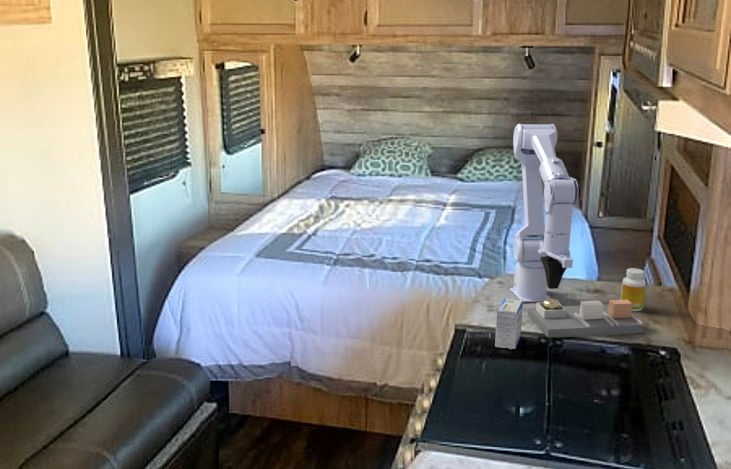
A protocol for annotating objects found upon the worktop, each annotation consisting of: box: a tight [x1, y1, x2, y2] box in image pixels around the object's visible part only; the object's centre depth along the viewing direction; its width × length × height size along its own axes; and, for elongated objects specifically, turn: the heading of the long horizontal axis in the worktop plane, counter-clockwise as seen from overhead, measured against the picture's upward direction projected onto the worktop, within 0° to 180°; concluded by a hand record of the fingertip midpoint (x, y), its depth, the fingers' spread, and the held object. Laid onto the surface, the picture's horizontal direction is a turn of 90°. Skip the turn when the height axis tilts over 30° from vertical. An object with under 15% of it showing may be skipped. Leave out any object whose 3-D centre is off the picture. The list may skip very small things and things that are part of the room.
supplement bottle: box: [619, 267, 647, 312], centre depth 182 cm, size 5×5×10 cm
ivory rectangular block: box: [579, 300, 604, 320], centre depth 171 cm, size 2×4×4 cm, turn 98°
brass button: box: [542, 298, 560, 310], centre depth 173 cm, size 4×4×2 cm
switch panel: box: [527, 301, 644, 339], centre depth 172 cm, size 13×22×4 cm, turn 98°
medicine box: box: [494, 298, 524, 350], centre depth 162 cm, size 8×4×9 cm, turn 160°
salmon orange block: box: [608, 299, 633, 318], centre depth 172 cm, size 2×4×4 cm, turn 98°
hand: (552, 287), depth 172 cm, fingers closed
